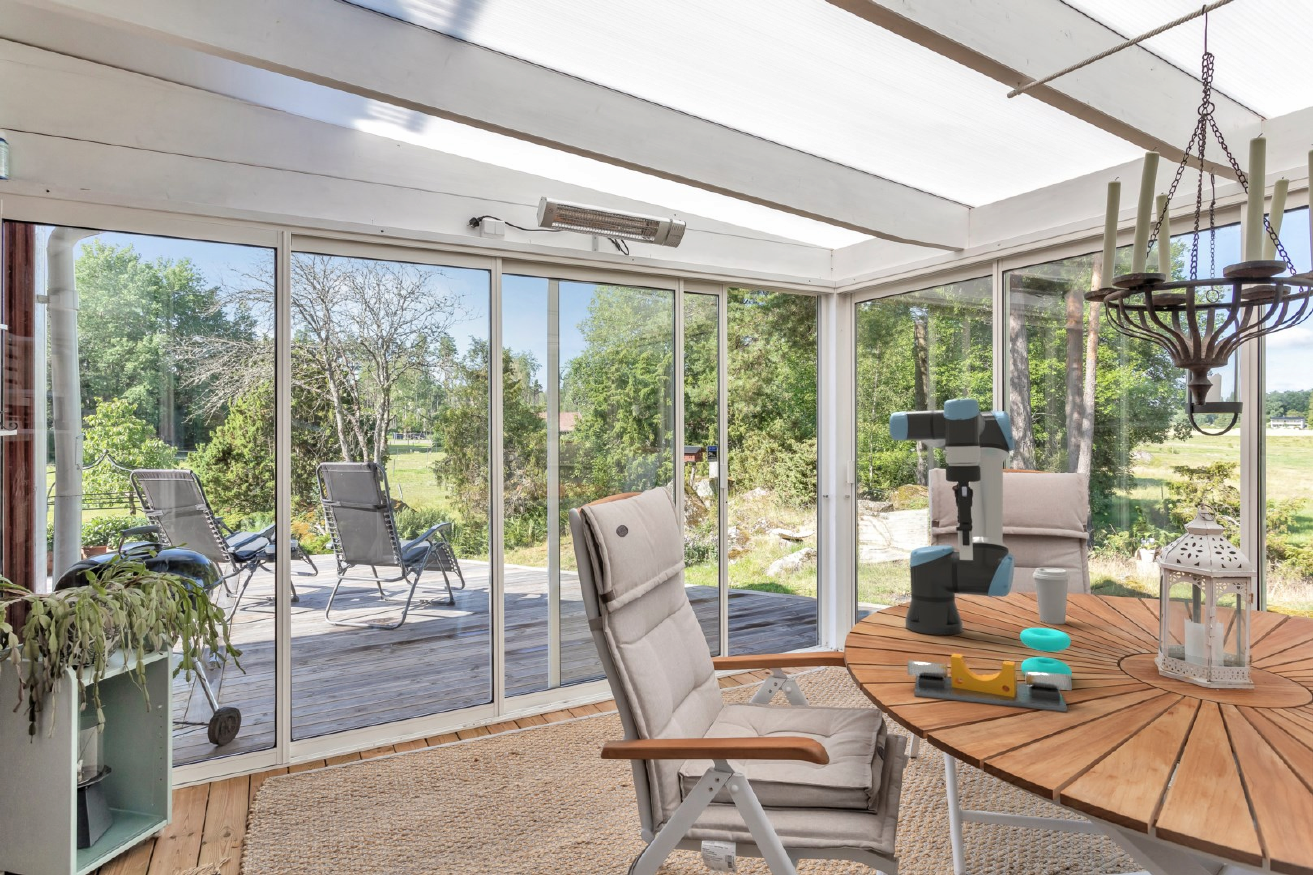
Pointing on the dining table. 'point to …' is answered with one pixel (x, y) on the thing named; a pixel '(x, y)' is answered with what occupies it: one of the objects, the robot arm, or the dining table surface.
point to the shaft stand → (1033, 694)
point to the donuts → (1045, 642)
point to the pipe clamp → (984, 678)
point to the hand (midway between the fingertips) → (965, 555)
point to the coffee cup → (1051, 594)
